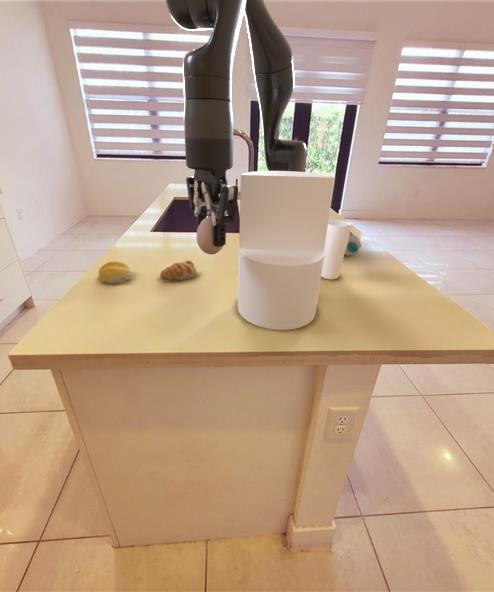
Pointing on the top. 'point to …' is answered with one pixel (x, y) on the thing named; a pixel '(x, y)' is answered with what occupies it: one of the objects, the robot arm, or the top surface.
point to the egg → (206, 237)
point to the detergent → (352, 245)
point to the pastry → (179, 271)
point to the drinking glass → (335, 248)
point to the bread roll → (114, 272)
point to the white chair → (282, 246)
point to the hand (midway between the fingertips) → (211, 240)
